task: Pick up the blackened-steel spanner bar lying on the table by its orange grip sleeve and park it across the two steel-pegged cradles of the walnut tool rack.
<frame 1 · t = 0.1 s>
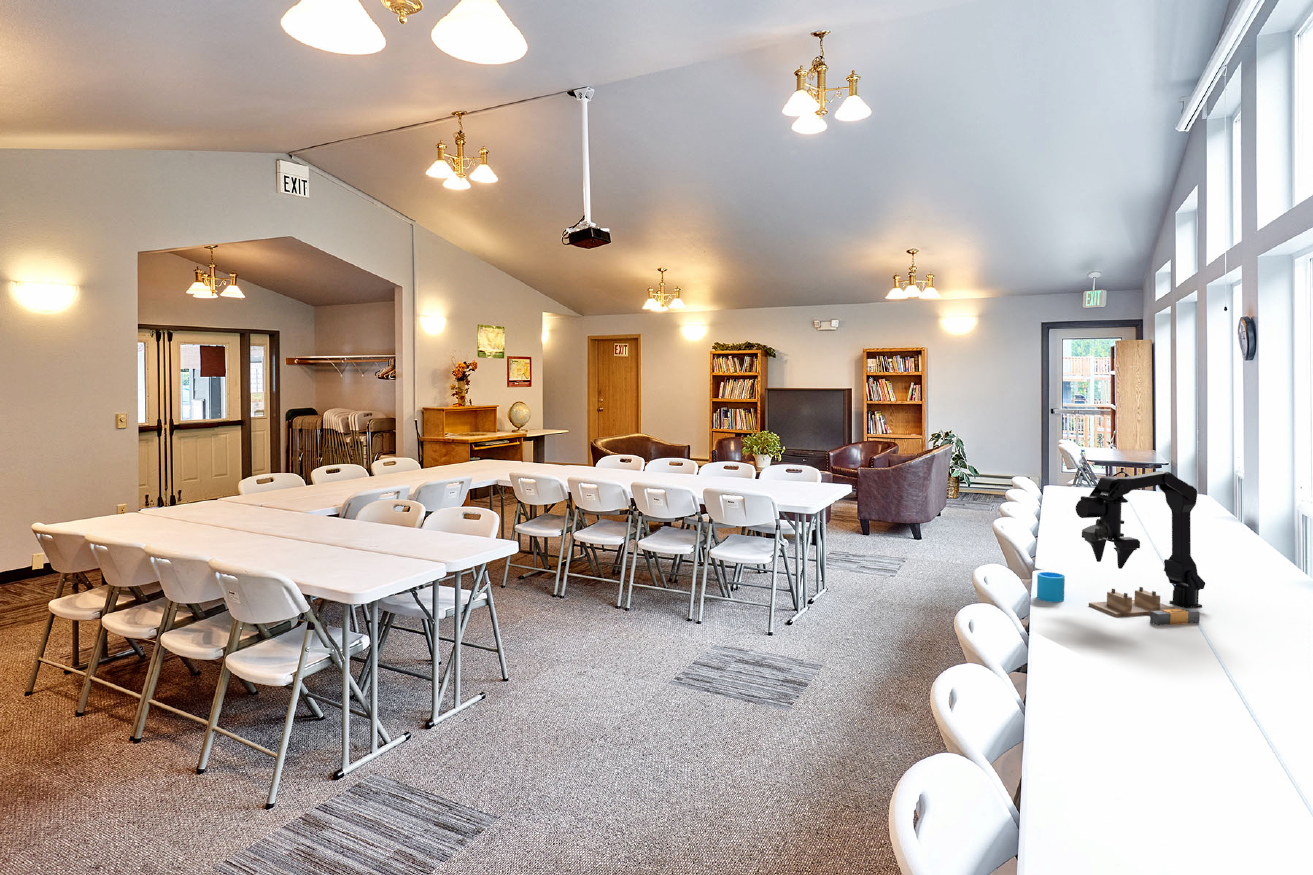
hand: (1109, 565, 240), 15 cm above the table, fingers open, 9 cm apart
mug: (1052, 598, 256), on the table
spanner bar: (1174, 622, 228), on the table
tool rack: (1133, 609, 241), on the table
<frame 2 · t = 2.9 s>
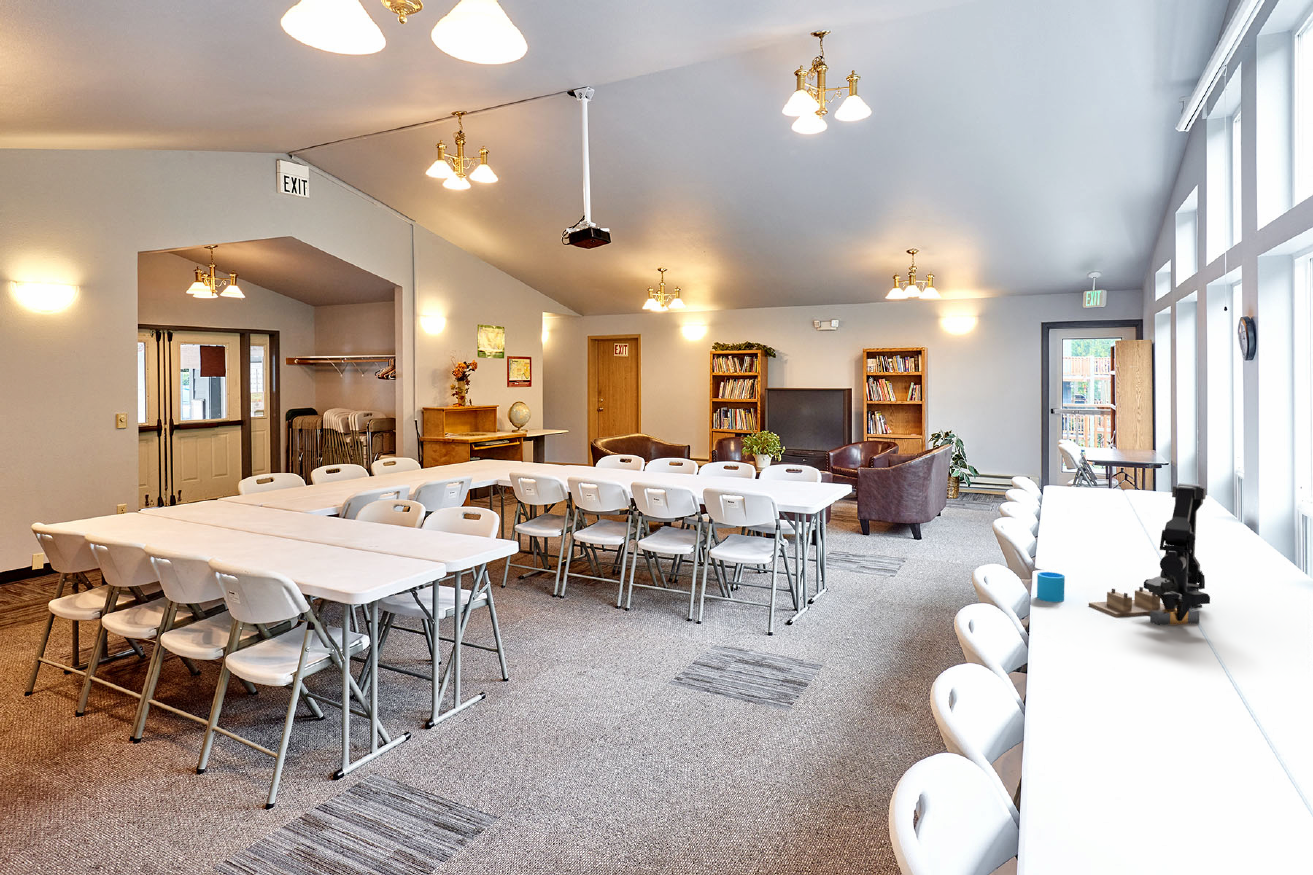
hand: (1174, 618, 227), 1 cm above the table, fingers closed on spanner bar, 3 cm apart
spanner bar: (1174, 622, 228), on the table, touching gripper
everything else where it was.
when the fingers open (8 cm above the table, at t = 6.4 s): spanner bar drops 2 cm, resting on tool rack.
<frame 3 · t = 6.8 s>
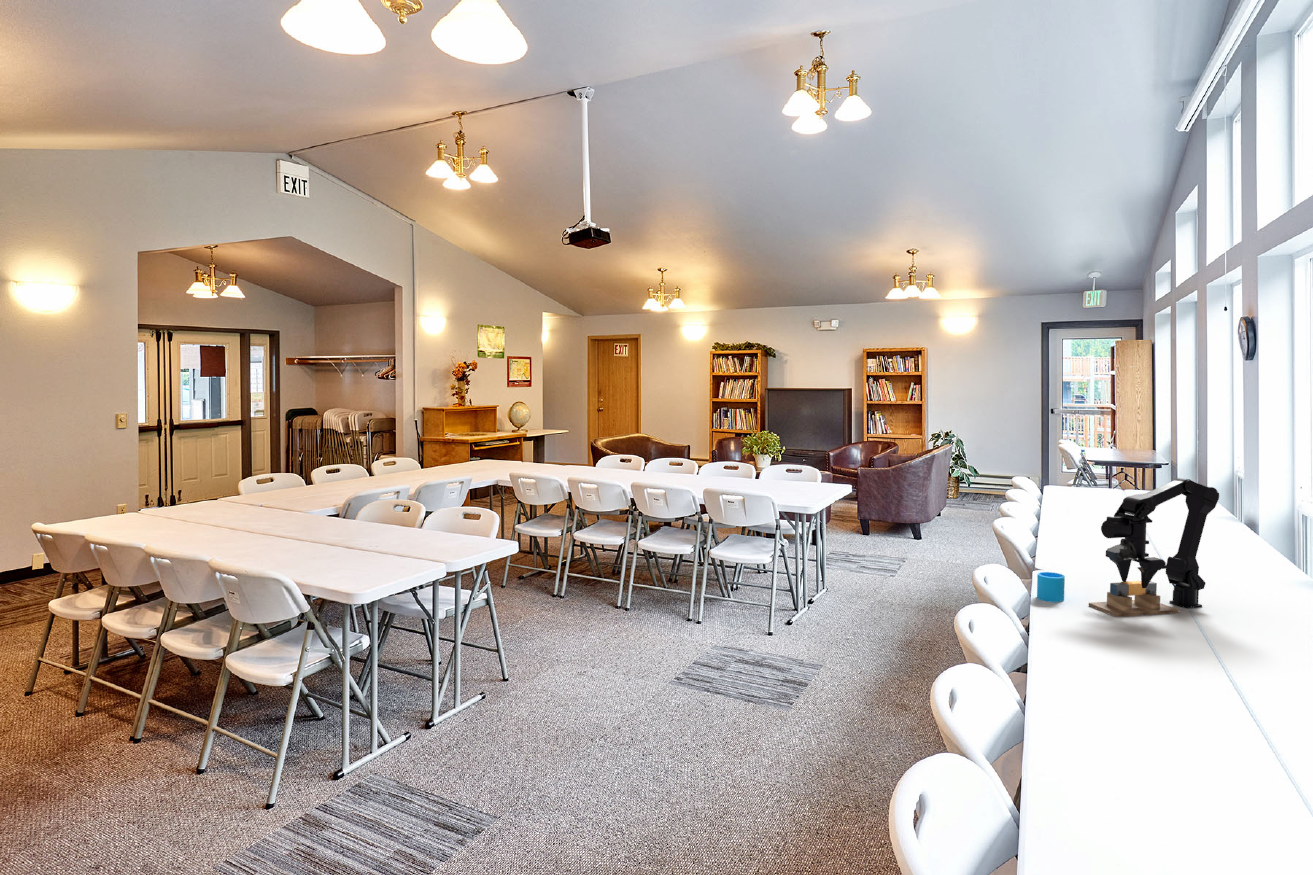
hand: (1133, 584, 241), 8 cm above the table, fingers open, 8 cm apart
spanner bar: (1133, 593, 241), point 5 cm above the table, touching tool rack
everything else where it was.
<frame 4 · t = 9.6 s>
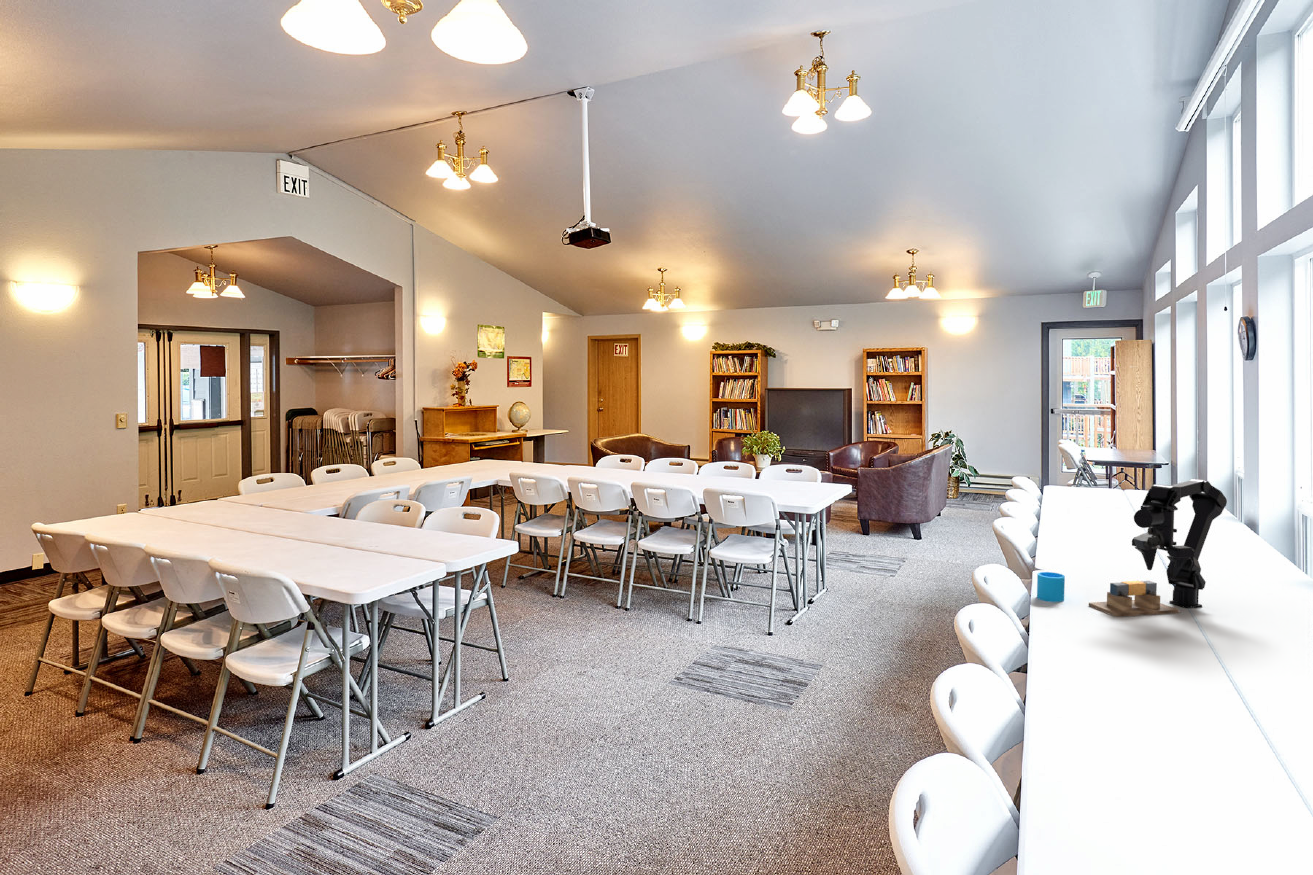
hand: (1161, 573, 238), 12 cm above the table, fingers open, 9 cm apart
nothing on the table moved.
at the end: spanner bar 0.1 cm off-centre on the tool rack, point 5.0 cm above the tool rack's base; spanner bar tilted 0°; the gripper is holding nothing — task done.
